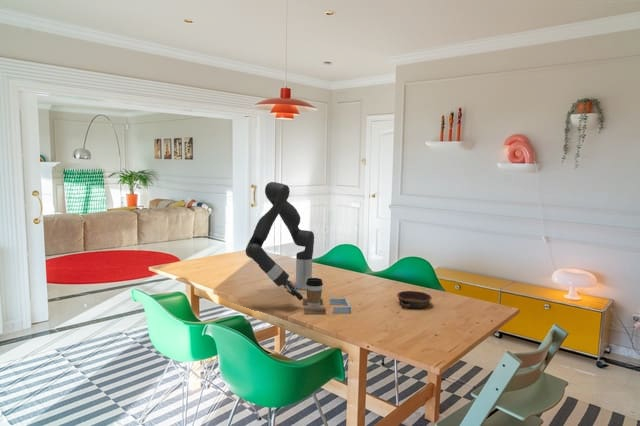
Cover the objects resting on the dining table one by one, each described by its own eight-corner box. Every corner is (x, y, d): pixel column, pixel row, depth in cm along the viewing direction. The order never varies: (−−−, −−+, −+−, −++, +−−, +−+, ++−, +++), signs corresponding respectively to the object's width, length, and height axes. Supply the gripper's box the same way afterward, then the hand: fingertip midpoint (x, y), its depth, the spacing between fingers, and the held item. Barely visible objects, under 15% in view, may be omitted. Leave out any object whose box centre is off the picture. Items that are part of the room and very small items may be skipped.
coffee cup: (307, 311, 213) (308, 281, 211) (303, 306, 221) (304, 277, 219) (324, 310, 215) (325, 280, 213) (319, 305, 223) (320, 276, 221)
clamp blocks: (302, 302, 226) (302, 298, 226) (321, 302, 227) (322, 298, 227) (304, 314, 209) (304, 309, 209) (325, 314, 210) (325, 309, 210)
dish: (387, 305, 227) (388, 295, 226) (410, 296, 243) (410, 287, 242) (417, 314, 215) (418, 304, 215) (439, 304, 231) (439, 295, 231)
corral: (330, 303, 226) (330, 298, 225) (346, 303, 227) (346, 298, 226) (333, 313, 212) (333, 307, 212) (350, 313, 213) (351, 307, 212)
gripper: (282, 272, 208) (308, 297, 210) (282, 266, 221) (306, 289, 223) (271, 283, 208) (296, 308, 210) (271, 276, 221) (295, 299, 223)
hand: (301, 298), depth 217 cm, fingers closed
